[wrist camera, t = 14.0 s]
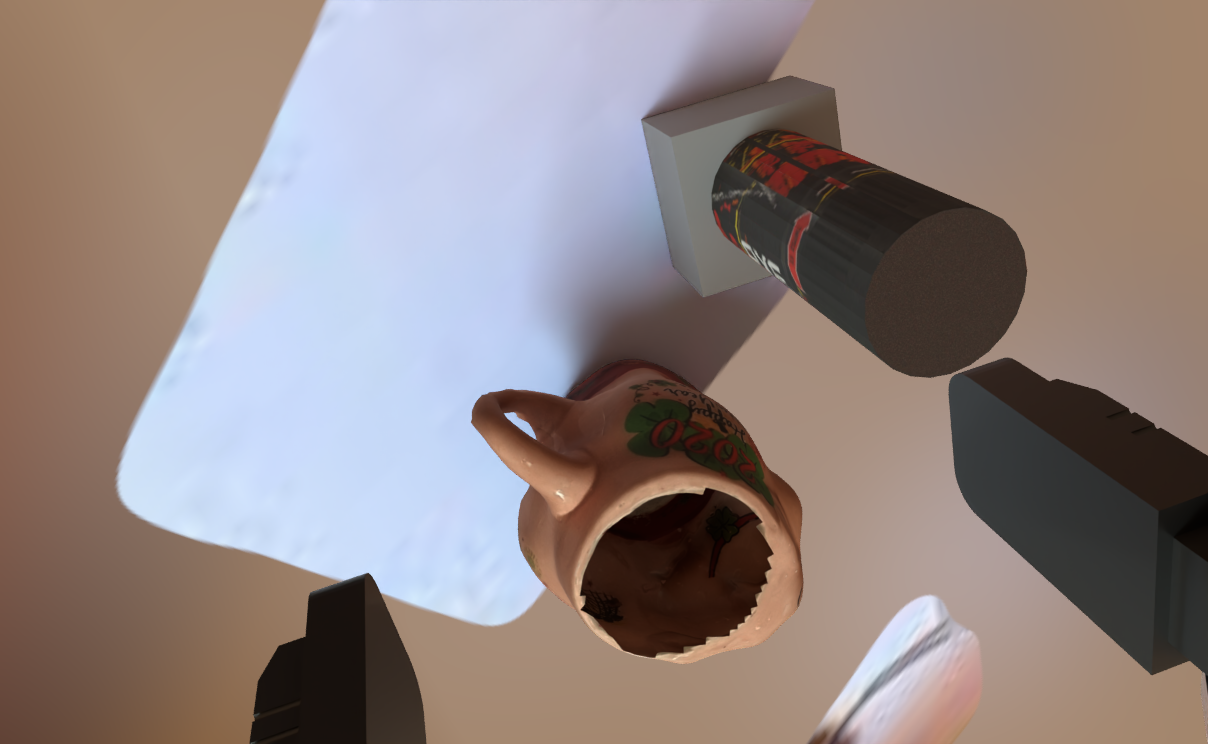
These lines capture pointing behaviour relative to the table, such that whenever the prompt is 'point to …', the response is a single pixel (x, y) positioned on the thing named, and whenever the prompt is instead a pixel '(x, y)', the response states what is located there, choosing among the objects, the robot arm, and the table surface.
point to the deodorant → (873, 250)
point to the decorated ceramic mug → (650, 512)
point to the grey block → (694, 154)
